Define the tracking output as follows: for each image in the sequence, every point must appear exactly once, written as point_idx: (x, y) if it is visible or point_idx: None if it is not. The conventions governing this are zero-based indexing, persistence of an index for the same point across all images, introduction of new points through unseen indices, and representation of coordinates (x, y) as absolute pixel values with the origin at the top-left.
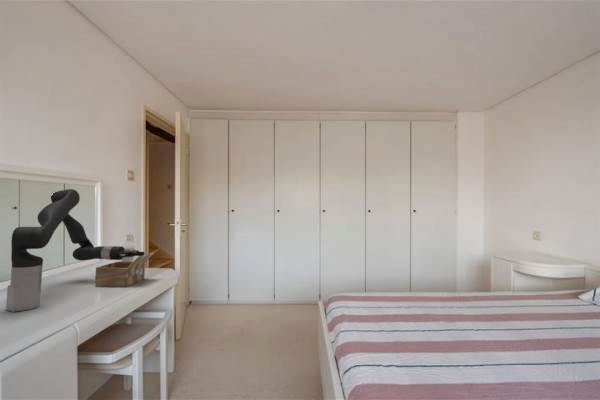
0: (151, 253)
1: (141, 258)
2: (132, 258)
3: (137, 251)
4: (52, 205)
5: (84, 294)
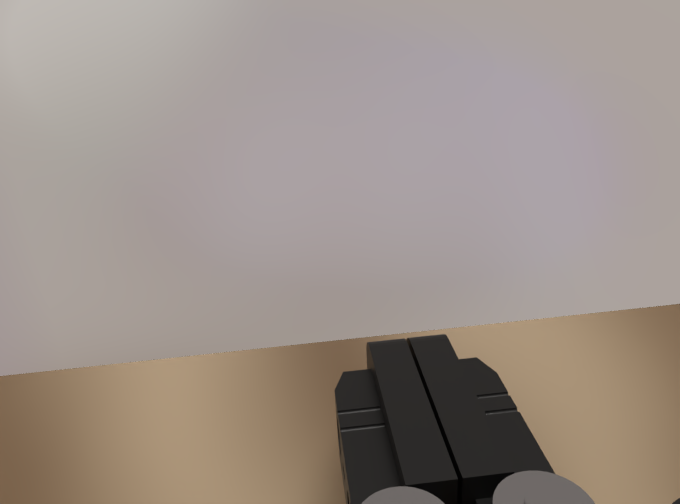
0: (182, 360)
1: (554, 412)
2: None
3: (428, 490)
4: None
5: None
